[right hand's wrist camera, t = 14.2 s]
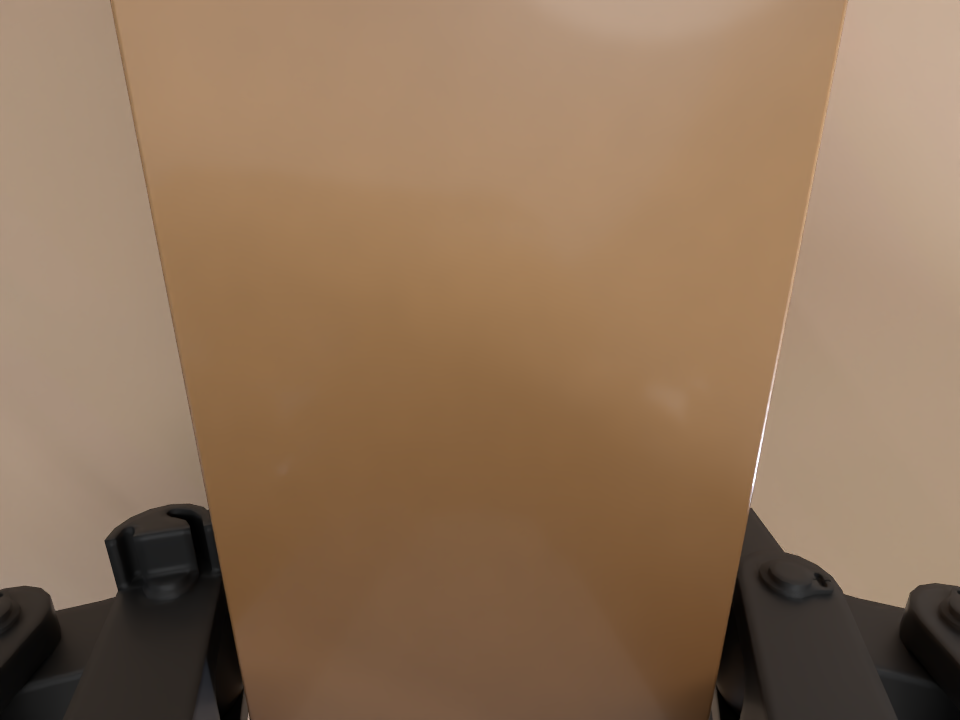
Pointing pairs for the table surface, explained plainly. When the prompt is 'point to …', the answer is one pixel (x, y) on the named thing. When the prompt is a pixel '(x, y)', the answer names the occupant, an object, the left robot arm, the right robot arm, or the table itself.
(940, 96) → the table surface
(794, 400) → the table surface
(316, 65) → the wooden box
